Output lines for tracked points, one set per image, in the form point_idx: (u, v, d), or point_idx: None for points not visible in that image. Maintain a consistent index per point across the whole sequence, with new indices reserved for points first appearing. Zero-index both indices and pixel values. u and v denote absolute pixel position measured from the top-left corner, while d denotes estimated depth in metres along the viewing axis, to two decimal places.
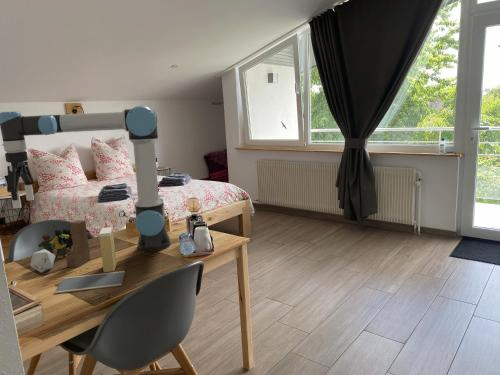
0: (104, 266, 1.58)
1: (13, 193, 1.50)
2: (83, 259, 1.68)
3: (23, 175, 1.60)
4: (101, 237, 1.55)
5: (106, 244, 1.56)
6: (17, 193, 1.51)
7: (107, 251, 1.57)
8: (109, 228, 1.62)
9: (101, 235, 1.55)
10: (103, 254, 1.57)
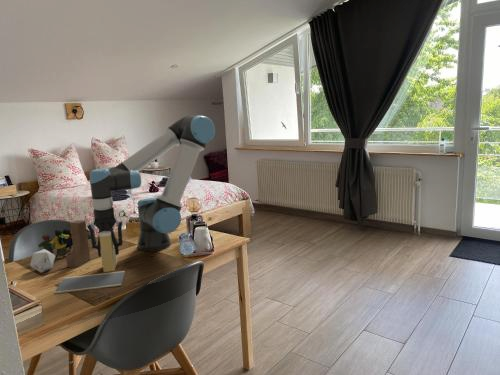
0: (104, 266, 1.58)
1: (98, 250, 1.60)
2: (83, 259, 1.68)
3: None
4: (101, 237, 1.55)
5: (106, 244, 1.56)
6: (100, 251, 1.59)
7: (107, 251, 1.57)
8: None
9: (101, 235, 1.55)
10: (103, 254, 1.57)
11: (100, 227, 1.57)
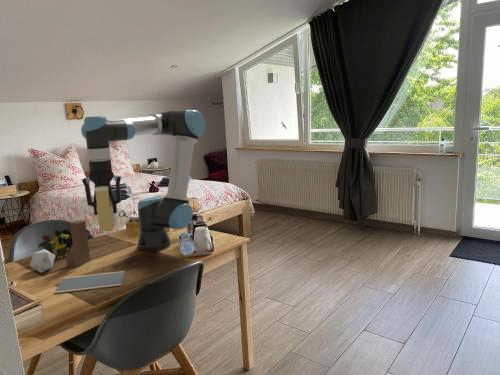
0: (100, 225, 1.42)
1: None
2: (83, 259, 1.68)
3: None
4: (97, 192, 1.39)
5: (103, 200, 1.40)
6: (96, 208, 1.43)
7: (104, 208, 1.41)
8: None
9: (97, 190, 1.39)
10: (99, 211, 1.41)
11: (96, 181, 1.41)
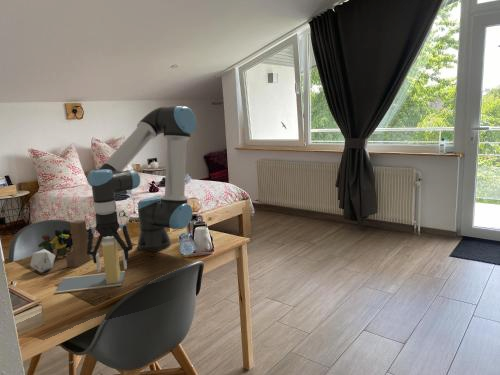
0: (107, 277, 1.46)
1: (93, 256, 1.47)
2: (83, 259, 1.68)
3: None
4: (104, 246, 1.43)
5: (109, 254, 1.44)
6: (96, 257, 1.46)
7: (110, 261, 1.45)
8: (112, 236, 1.50)
9: (104, 244, 1.43)
10: (106, 264, 1.45)
11: (101, 232, 1.44)
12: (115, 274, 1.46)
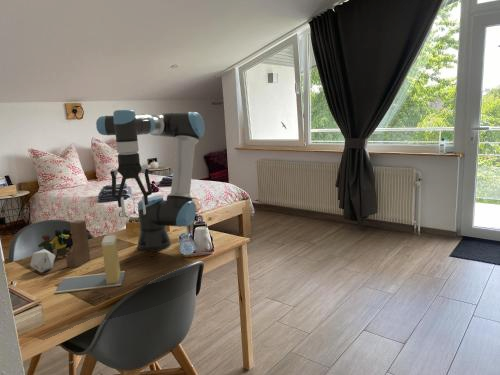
0: (107, 277, 1.46)
1: None
2: (83, 259, 1.68)
3: (137, 181, 1.45)
4: (104, 246, 1.43)
5: (109, 254, 1.44)
6: (120, 201, 1.44)
7: (110, 261, 1.45)
8: (112, 236, 1.50)
9: (104, 244, 1.43)
10: (106, 264, 1.45)
11: (124, 174, 1.42)
12: (115, 274, 1.46)
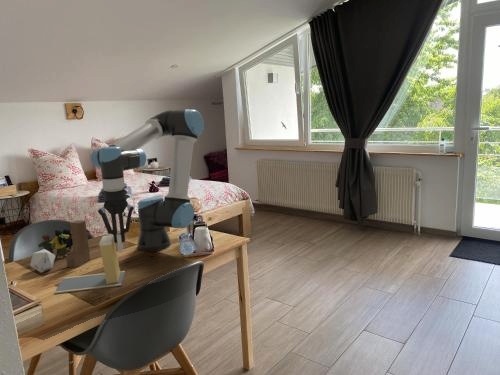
0: (107, 277, 1.46)
1: None
2: (83, 259, 1.68)
3: (119, 217, 1.46)
4: (102, 246, 1.43)
5: (107, 254, 1.44)
6: (116, 236, 1.46)
7: (109, 261, 1.45)
8: (110, 236, 1.49)
9: (102, 244, 1.43)
10: (105, 264, 1.45)
11: (111, 210, 1.43)
12: (114, 274, 1.46)
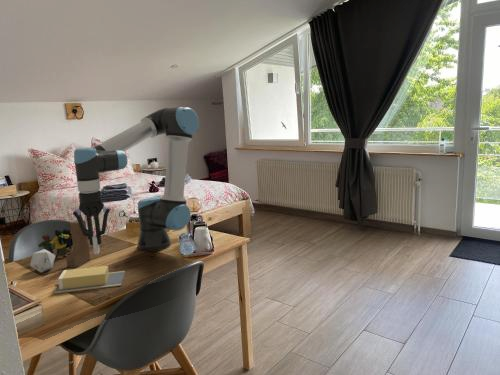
0: (99, 283, 1.46)
1: None
2: (83, 259, 1.68)
3: None
4: (63, 286, 1.43)
5: (72, 281, 1.43)
6: None
7: (80, 280, 1.44)
8: None
9: (61, 286, 1.43)
10: (84, 284, 1.45)
11: (86, 212, 1.42)
12: (95, 276, 1.45)
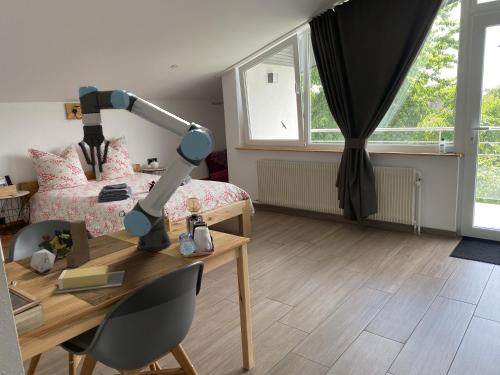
0: (99, 283, 1.46)
1: (92, 166, 1.67)
2: (83, 259, 1.68)
3: None
4: (63, 286, 1.43)
5: (72, 281, 1.43)
6: (95, 167, 1.66)
7: (80, 280, 1.44)
8: None
9: (61, 286, 1.43)
10: (84, 284, 1.45)
11: (90, 143, 1.63)
12: (95, 276, 1.45)
